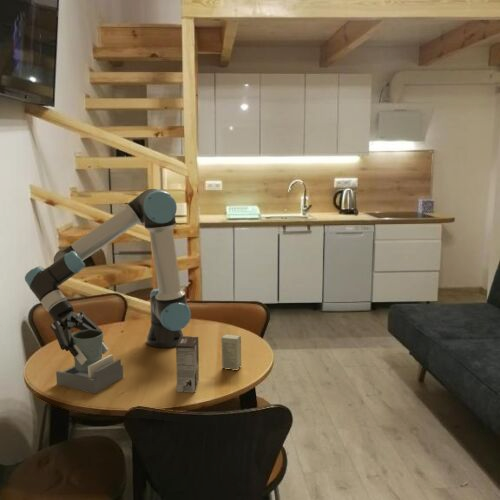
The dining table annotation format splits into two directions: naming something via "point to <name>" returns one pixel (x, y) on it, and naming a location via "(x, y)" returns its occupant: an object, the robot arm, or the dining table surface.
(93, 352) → the grey-green cup
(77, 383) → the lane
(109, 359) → the pusher
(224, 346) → the skincare box
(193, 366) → the coffee box
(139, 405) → the dining table surface
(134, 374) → the dining table surface
